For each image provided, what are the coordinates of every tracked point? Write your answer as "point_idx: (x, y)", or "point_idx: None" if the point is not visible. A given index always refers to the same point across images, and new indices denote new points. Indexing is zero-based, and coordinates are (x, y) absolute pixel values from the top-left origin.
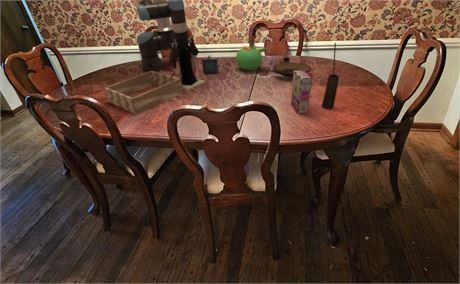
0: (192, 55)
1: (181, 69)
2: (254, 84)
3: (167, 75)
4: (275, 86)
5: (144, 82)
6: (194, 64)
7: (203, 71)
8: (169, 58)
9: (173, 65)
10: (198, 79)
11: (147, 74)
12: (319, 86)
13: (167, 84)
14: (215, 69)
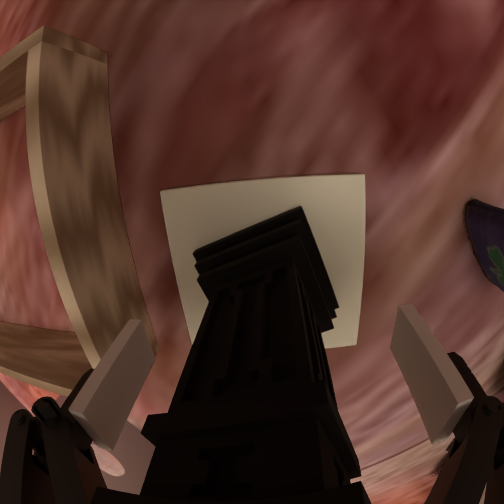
0: (456, 411)
1: (203, 338)
2: (401, 454)
3: (64, 279)
4: (400, 475)
5: (19, 91)
6: (404, 344)
7: (475, 214)
8: (6, 439)
9: (74, 395)
10: (357, 287)
11: (9, 71)
12: (418, 491)
13: (48, 390)
14: (501, 288)
